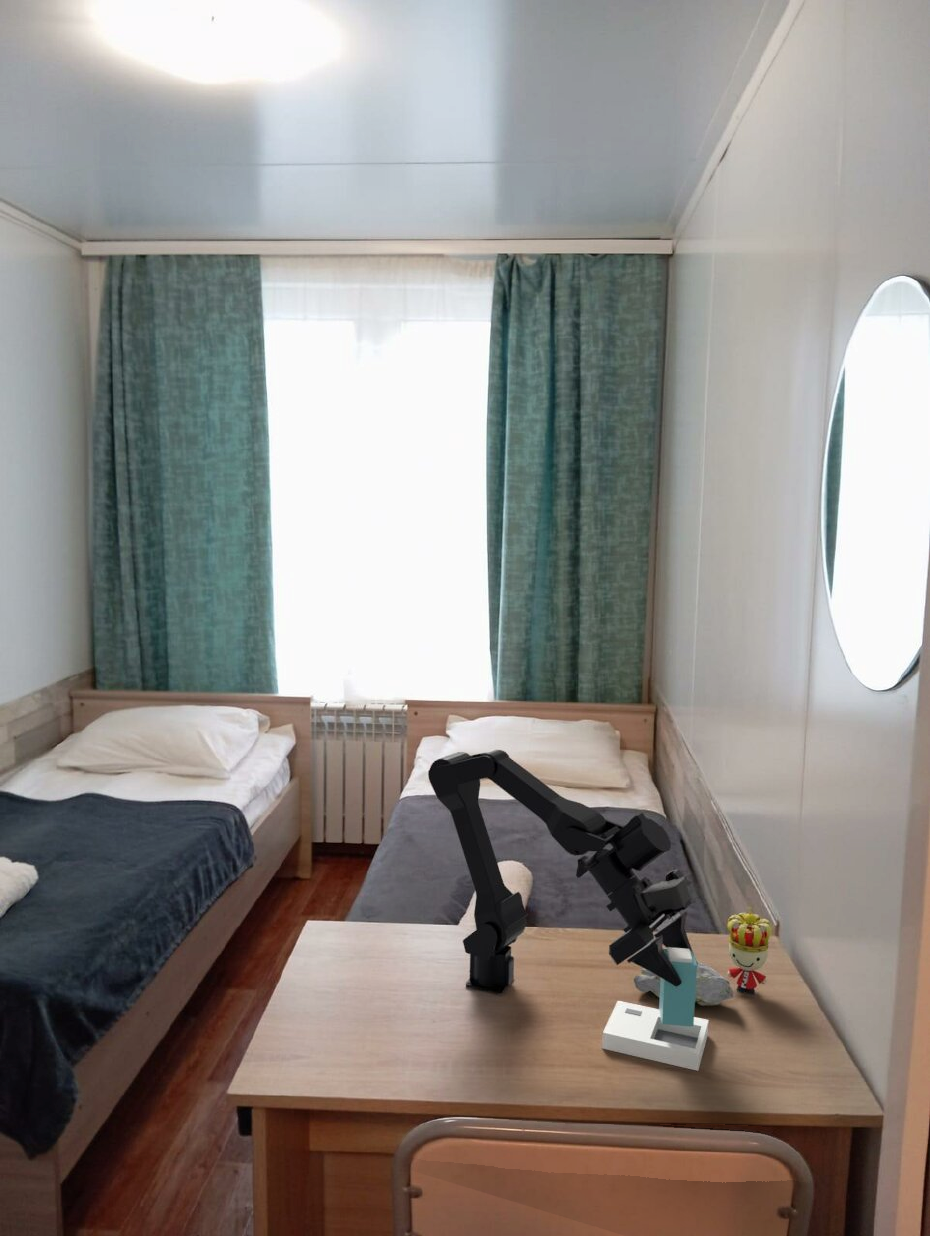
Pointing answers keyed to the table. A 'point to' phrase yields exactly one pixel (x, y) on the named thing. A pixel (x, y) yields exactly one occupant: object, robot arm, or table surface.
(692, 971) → the plug
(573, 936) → the table surface
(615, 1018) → the socket plate
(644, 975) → the rock
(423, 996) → the table surface
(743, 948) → the toy
